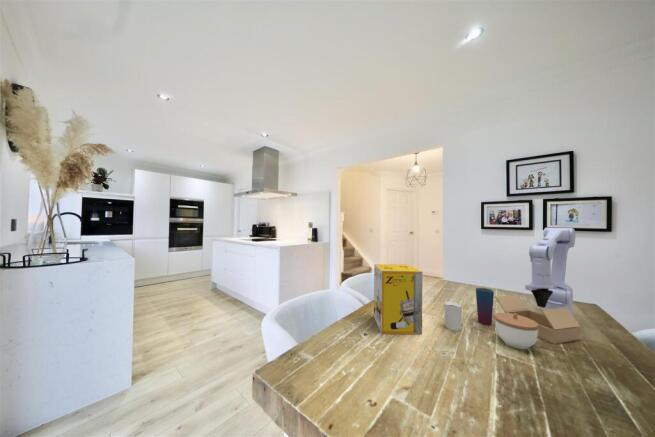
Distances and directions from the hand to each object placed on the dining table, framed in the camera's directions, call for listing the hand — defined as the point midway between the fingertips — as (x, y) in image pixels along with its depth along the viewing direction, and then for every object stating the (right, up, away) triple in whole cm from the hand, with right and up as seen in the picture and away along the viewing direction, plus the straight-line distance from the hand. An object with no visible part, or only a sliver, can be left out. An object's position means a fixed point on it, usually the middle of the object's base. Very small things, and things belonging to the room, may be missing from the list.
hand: (541, 306), depth 93 cm
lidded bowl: (-19, -10, -10) cm, 24 cm away
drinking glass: (-36, -10, +2) cm, 37 cm away
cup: (-18, -11, +8) cm, 23 cm away
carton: (0, -10, 0) cm, 10 cm away
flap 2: (+1, -2, -6) cm, 7 cm away
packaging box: (-60, -10, +4) cm, 61 cm away
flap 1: (-3, -3, +12) cm, 12 cm away
